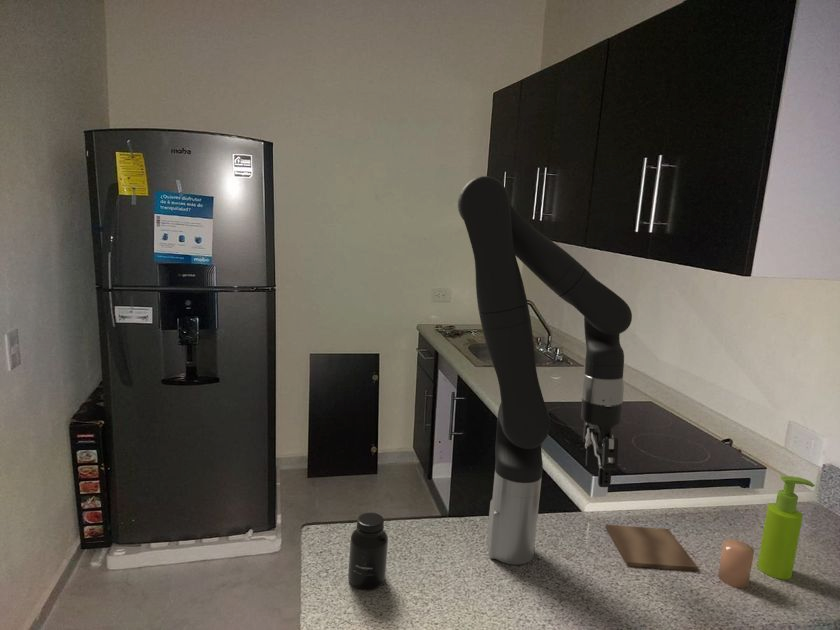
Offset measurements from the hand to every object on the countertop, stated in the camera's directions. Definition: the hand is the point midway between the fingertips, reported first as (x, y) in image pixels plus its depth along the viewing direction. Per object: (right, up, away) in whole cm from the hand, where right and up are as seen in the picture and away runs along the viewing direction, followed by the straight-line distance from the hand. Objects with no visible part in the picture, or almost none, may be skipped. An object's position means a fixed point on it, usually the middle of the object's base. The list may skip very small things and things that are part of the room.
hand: (597, 476), depth 109 cm
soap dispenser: (+37, -20, +2) cm, 42 cm away
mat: (+13, -18, +8) cm, 23 cm away
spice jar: (+26, -20, -1) cm, 33 cm away
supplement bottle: (-45, -17, -8) cm, 49 cm away
